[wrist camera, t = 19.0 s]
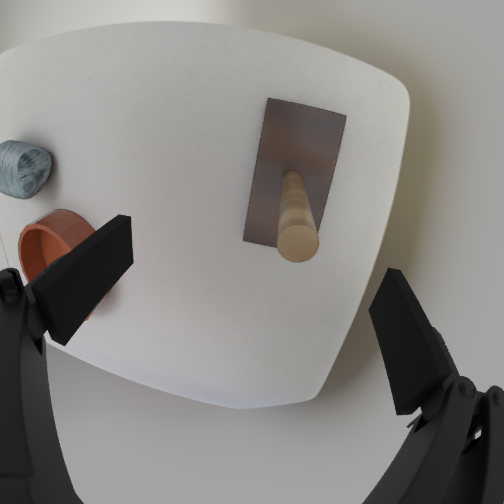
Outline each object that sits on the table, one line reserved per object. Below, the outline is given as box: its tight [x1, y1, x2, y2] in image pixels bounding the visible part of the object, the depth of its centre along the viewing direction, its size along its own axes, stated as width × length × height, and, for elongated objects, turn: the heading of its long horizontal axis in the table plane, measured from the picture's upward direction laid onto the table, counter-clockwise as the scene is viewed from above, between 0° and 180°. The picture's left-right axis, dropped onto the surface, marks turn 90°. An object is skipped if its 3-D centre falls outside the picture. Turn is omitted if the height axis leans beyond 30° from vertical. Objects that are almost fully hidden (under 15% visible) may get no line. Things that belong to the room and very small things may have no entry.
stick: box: [277, 171, 319, 262], centre depth 21 cm, size 2×2×15 cm
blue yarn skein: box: [0, 140, 52, 199], centre depth 27 cm, size 14×10×10 cm
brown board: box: [243, 98, 346, 248], centre depth 28 cm, size 16×8×2 cm, turn 170°
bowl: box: [18, 209, 111, 321], centre depth 35 cm, size 18×18×6 cm
